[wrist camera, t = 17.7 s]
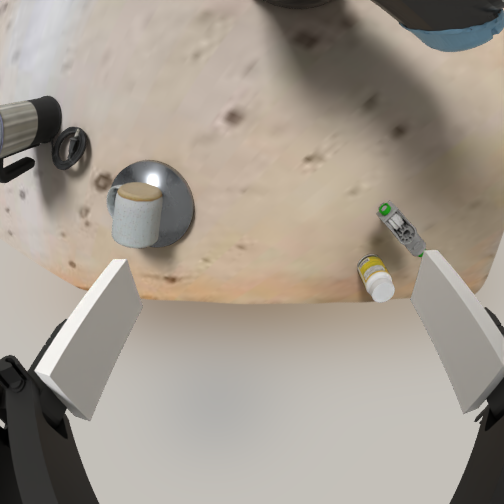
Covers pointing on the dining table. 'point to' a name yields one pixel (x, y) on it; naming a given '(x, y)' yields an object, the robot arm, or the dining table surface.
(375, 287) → the supplement bottle
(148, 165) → the plate
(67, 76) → the dining table surface
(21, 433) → the robot arm
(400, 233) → the mechanical component
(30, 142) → the milk frother
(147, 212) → the ceramic mug
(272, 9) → the dining table surface
